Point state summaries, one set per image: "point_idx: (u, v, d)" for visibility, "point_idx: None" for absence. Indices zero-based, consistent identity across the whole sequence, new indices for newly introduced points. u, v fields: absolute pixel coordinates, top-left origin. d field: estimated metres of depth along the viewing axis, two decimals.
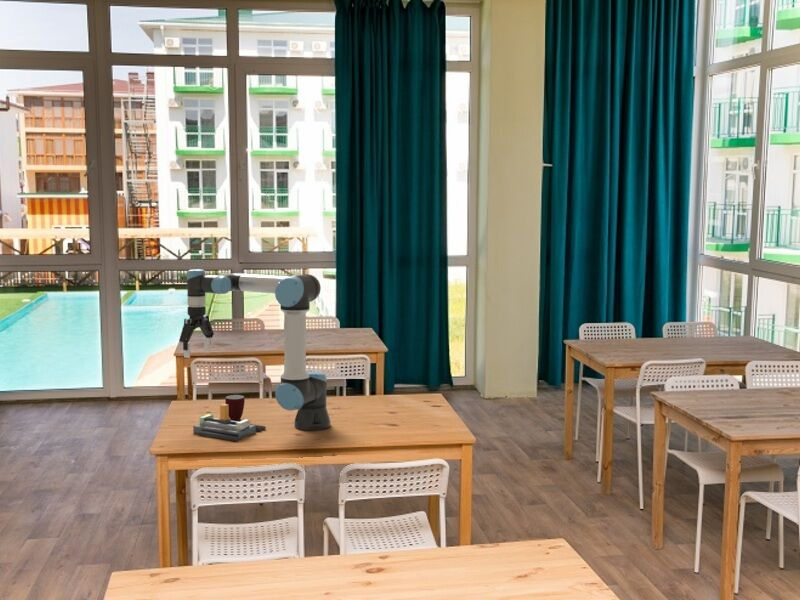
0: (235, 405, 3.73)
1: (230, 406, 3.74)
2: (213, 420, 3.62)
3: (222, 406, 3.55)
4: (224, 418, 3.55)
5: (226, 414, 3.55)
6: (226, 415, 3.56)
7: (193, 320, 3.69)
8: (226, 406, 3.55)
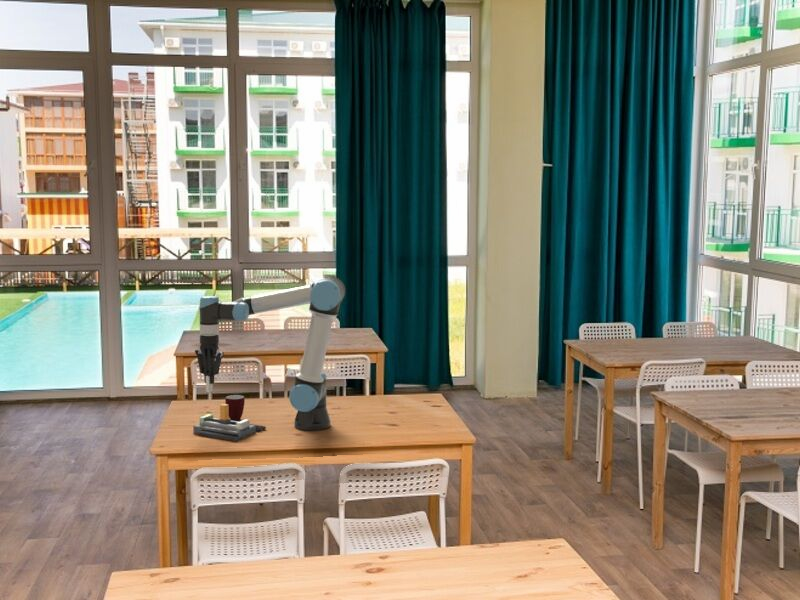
0: (235, 405, 3.73)
1: (230, 406, 3.74)
2: (213, 420, 3.62)
3: (222, 406, 3.55)
4: (224, 418, 3.55)
5: (226, 414, 3.55)
6: (226, 415, 3.56)
7: (200, 347, 3.56)
8: (226, 406, 3.55)
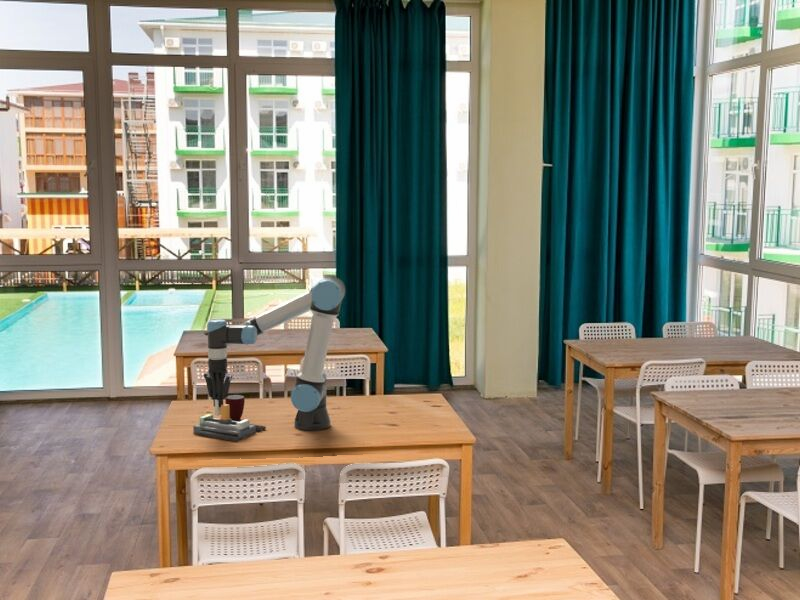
0: (235, 405, 3.73)
1: (230, 406, 3.74)
2: (213, 420, 3.62)
3: (223, 406, 3.55)
4: (225, 418, 3.55)
5: (226, 414, 3.55)
6: (227, 415, 3.55)
7: (209, 371, 3.56)
8: (227, 406, 3.55)
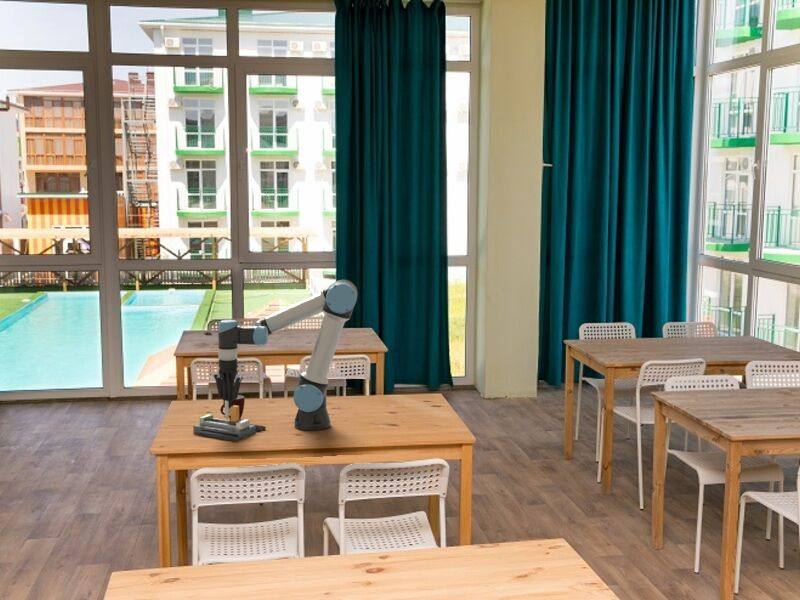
0: None
1: None
2: (213, 420, 3.62)
3: (233, 407, 3.53)
4: (235, 420, 3.53)
5: (236, 416, 3.53)
6: (237, 417, 3.53)
7: (219, 372, 3.54)
8: (237, 407, 3.53)
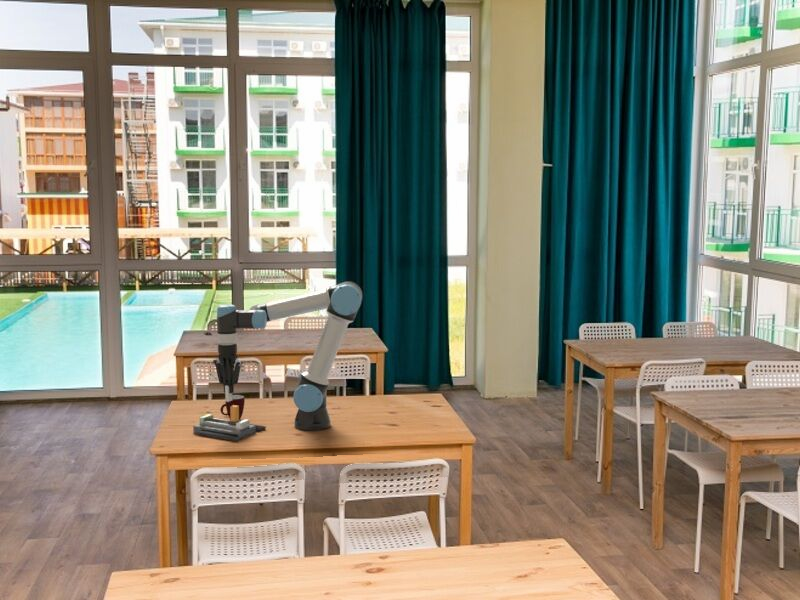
0: None
1: None
2: (213, 420, 3.62)
3: (232, 407, 3.53)
4: (234, 420, 3.53)
5: (236, 416, 3.53)
6: (236, 416, 3.54)
7: (219, 357, 3.53)
8: (236, 407, 3.53)
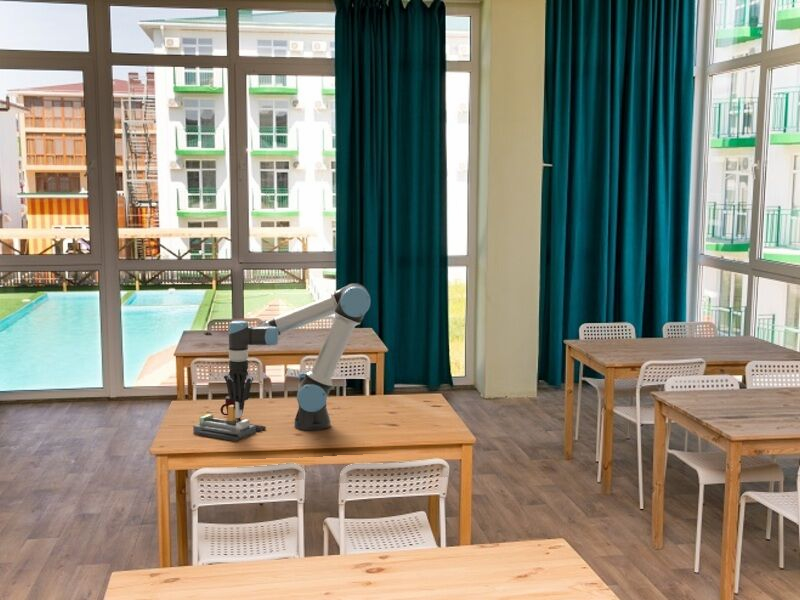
0: None
1: None
2: (213, 420, 3.62)
3: (230, 407, 3.53)
4: (232, 419, 3.54)
5: (233, 415, 3.54)
6: (234, 416, 3.54)
7: (229, 373, 3.52)
8: None
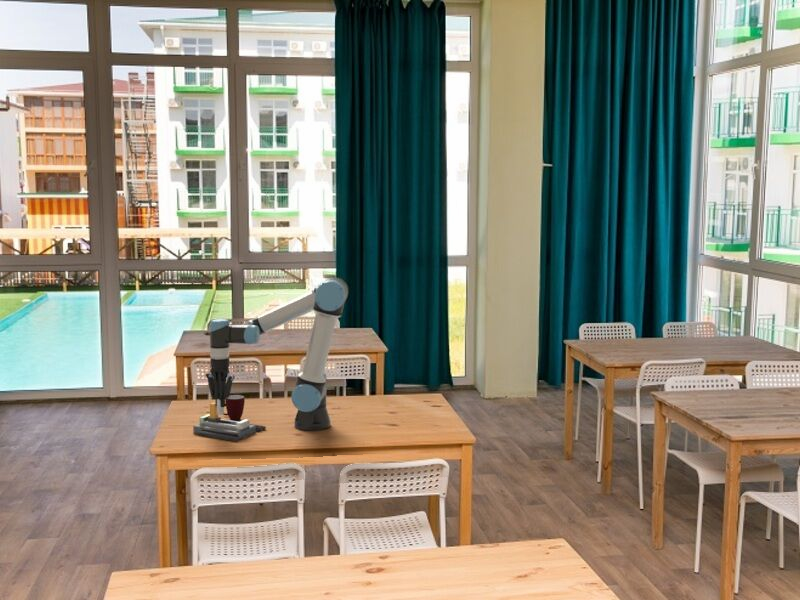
0: (235, 405, 3.73)
1: (230, 406, 3.74)
2: None
3: (212, 405, 3.57)
4: (214, 416, 3.57)
5: (215, 413, 3.57)
6: (216, 413, 3.58)
7: (211, 371, 3.55)
8: None
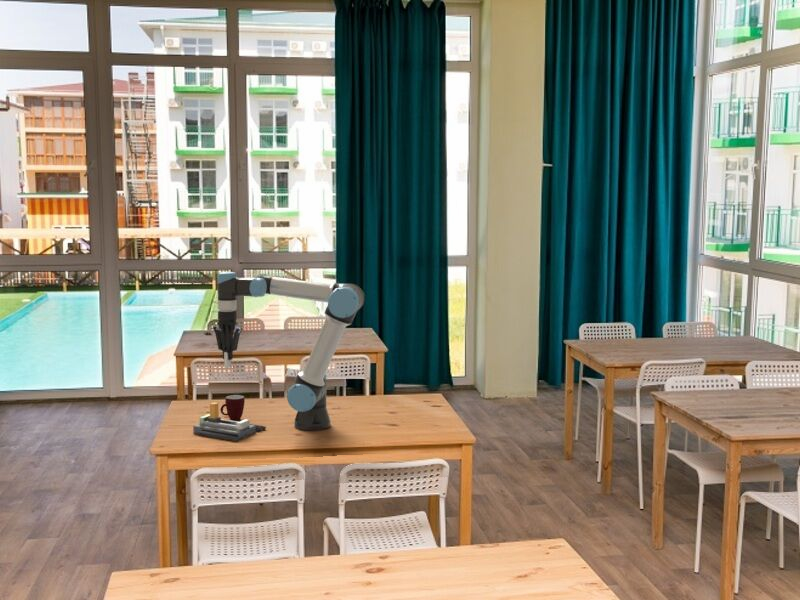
0: (235, 405, 3.73)
1: (230, 406, 3.74)
2: None
3: (212, 405, 3.57)
4: (214, 416, 3.57)
5: (215, 413, 3.57)
6: (216, 414, 3.58)
7: (218, 323, 3.56)
8: (216, 405, 3.57)
